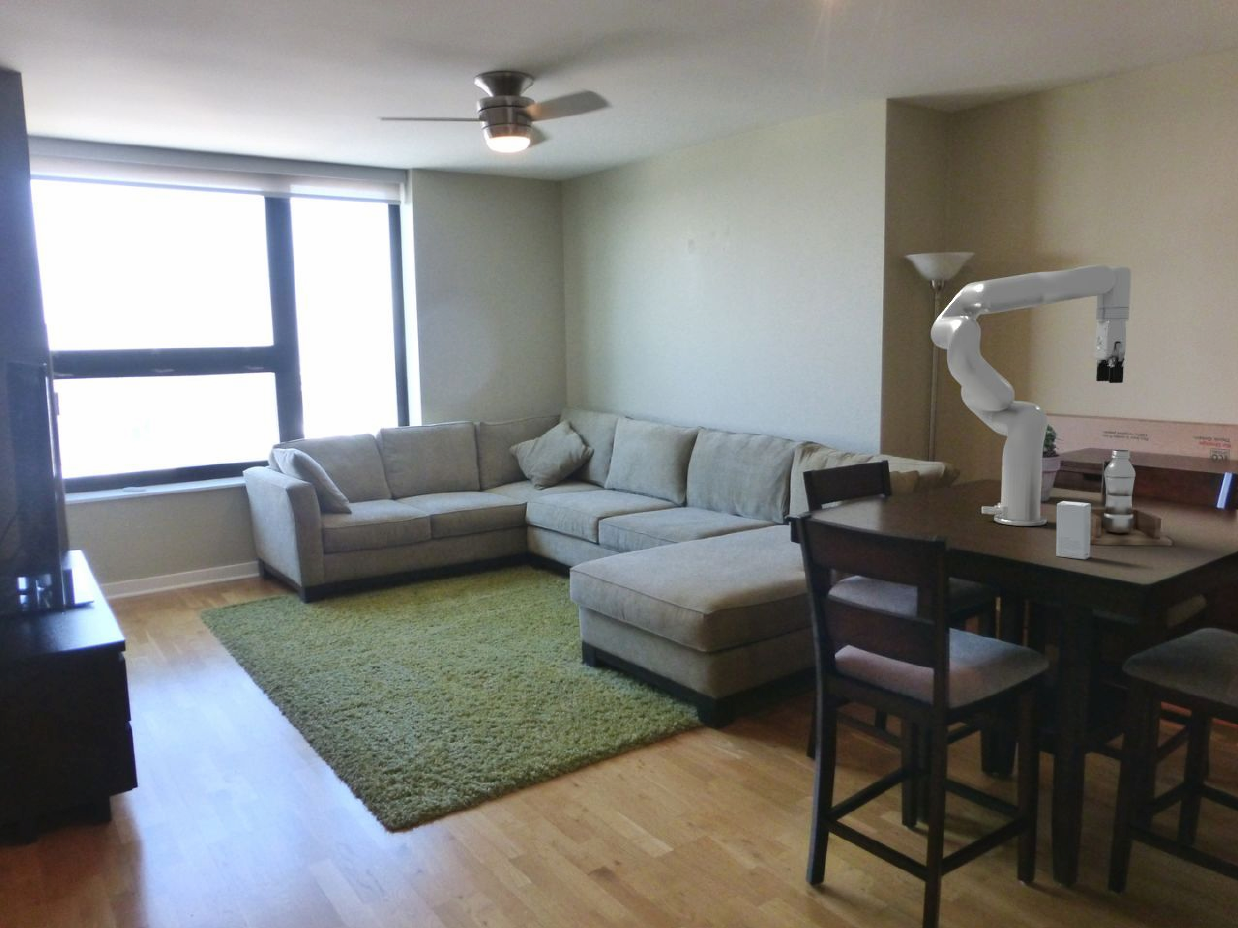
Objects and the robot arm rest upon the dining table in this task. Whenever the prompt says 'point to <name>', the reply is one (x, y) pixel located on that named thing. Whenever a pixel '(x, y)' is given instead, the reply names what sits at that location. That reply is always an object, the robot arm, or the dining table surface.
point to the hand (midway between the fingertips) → (1109, 382)
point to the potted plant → (1049, 463)
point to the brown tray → (1141, 534)
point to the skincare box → (1073, 529)
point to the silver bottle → (1119, 493)
